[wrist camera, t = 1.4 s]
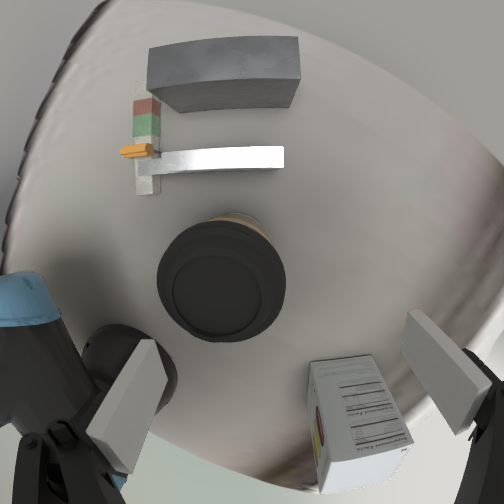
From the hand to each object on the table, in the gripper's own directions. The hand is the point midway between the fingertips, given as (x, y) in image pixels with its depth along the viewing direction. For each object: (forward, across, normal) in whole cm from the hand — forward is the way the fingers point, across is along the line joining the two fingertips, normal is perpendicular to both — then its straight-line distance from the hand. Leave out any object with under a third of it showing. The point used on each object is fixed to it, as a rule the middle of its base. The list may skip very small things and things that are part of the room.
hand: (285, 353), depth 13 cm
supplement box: (+20, +8, -21) cm, 30 cm away
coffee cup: (+20, -4, +1) cm, 20 cm away
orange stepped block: (+17, -12, +12) cm, 24 cm away
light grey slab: (+19, -5, +10) cm, 22 cm away
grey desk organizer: (+19, -5, +14) cm, 24 cm away
